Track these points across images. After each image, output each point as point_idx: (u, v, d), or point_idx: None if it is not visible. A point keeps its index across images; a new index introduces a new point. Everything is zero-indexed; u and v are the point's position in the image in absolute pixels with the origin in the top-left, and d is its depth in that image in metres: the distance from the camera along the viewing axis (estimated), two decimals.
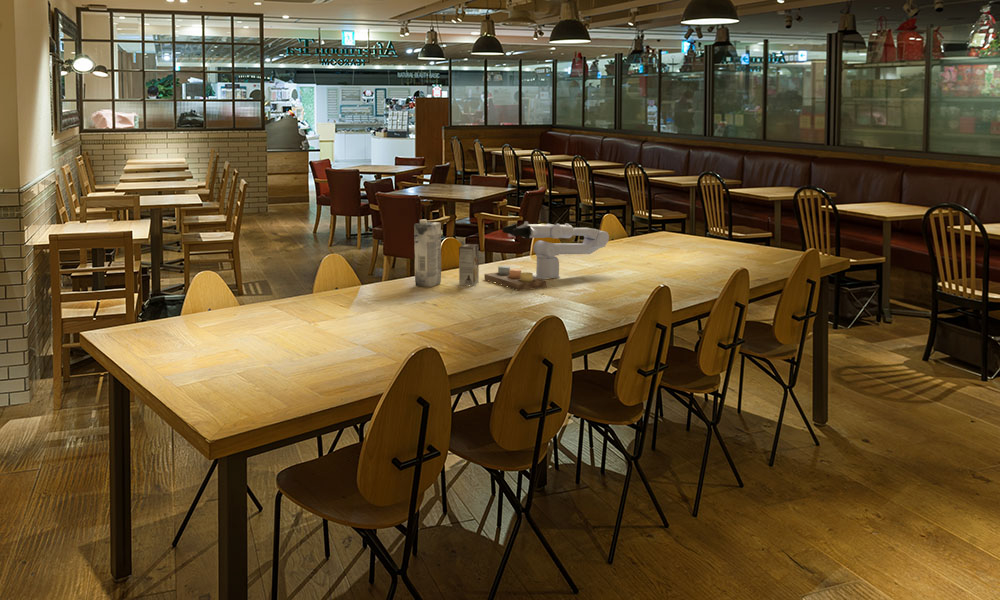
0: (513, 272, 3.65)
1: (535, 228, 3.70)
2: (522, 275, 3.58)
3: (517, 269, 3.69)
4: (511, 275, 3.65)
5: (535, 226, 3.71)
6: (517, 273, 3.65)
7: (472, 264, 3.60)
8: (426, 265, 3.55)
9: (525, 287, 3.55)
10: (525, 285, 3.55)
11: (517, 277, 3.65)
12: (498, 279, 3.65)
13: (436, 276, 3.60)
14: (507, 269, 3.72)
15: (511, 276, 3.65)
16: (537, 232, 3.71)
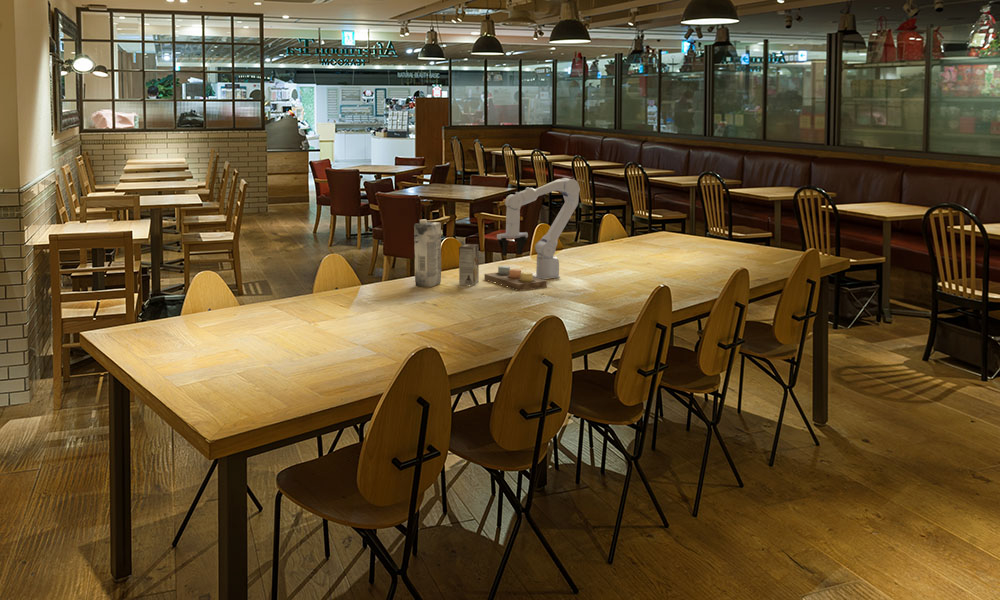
0: (513, 272, 3.65)
1: (506, 226, 3.71)
2: (522, 275, 3.58)
3: (517, 269, 3.69)
4: (511, 275, 3.65)
5: None
6: (517, 273, 3.65)
7: (472, 264, 3.60)
8: (426, 265, 3.55)
9: (525, 287, 3.55)
10: (525, 285, 3.55)
11: (517, 277, 3.65)
12: (498, 279, 3.65)
13: (436, 276, 3.60)
14: (507, 269, 3.72)
15: (511, 276, 3.65)
16: (507, 225, 3.70)
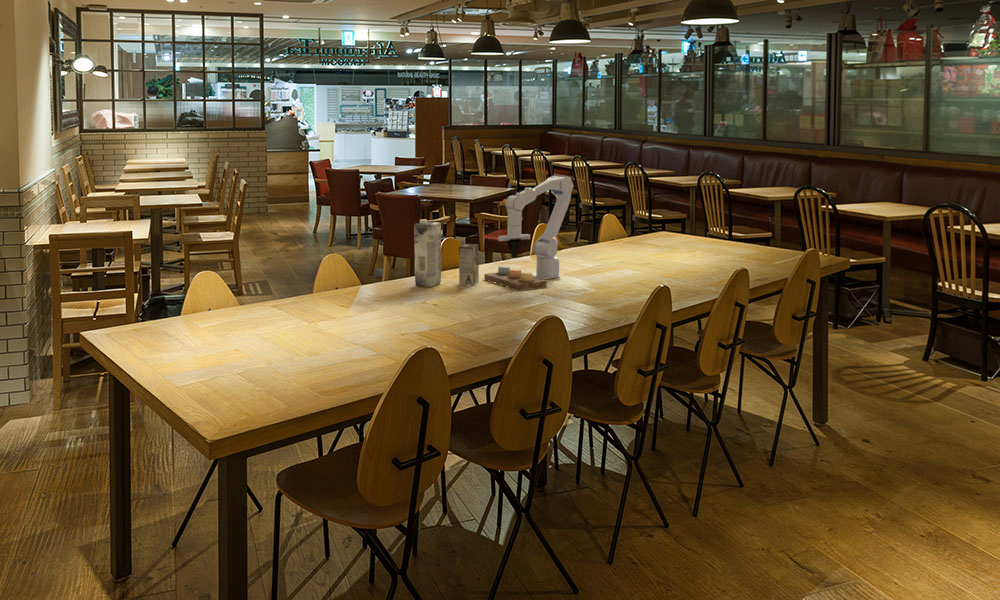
0: (513, 272, 3.65)
1: None
2: (522, 275, 3.58)
3: (517, 269, 3.69)
4: (511, 275, 3.65)
5: None
6: (517, 273, 3.65)
7: (472, 264, 3.60)
8: (426, 265, 3.55)
9: (525, 287, 3.55)
10: (525, 285, 3.55)
11: (517, 277, 3.65)
12: (498, 279, 3.65)
13: (436, 276, 3.60)
14: (507, 269, 3.72)
15: (511, 276, 3.65)
16: (509, 226, 3.64)
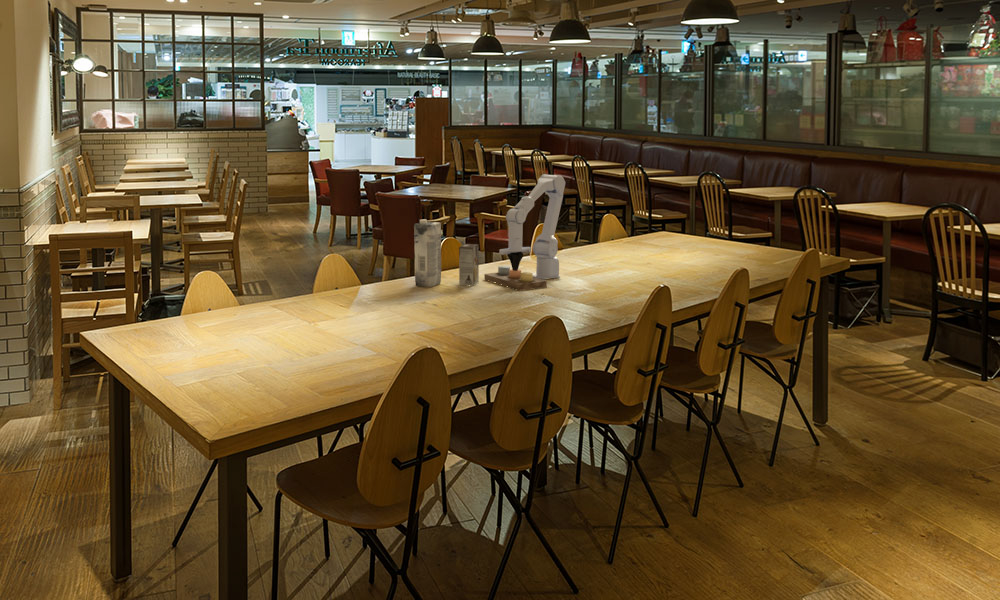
0: (513, 272, 3.65)
1: None
2: (522, 275, 3.58)
3: None
4: (511, 275, 3.65)
5: None
6: (517, 273, 3.65)
7: (472, 264, 3.60)
8: (426, 265, 3.55)
9: (525, 287, 3.55)
10: (525, 285, 3.55)
11: (517, 277, 3.65)
12: (498, 279, 3.65)
13: (436, 276, 3.60)
14: (507, 269, 3.72)
15: (511, 276, 3.65)
16: (510, 239, 3.62)
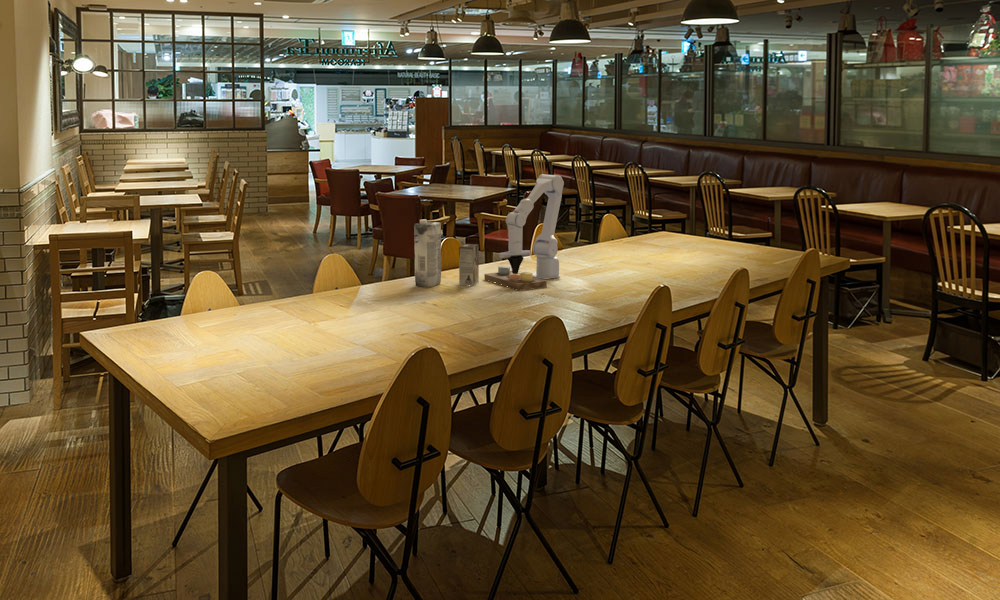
0: (513, 276, 3.65)
1: None
2: (522, 275, 3.58)
3: None
4: None
5: None
6: (517, 277, 3.65)
7: (472, 264, 3.60)
8: (426, 265, 3.55)
9: (525, 287, 3.55)
10: (525, 285, 3.55)
11: None
12: (498, 279, 3.65)
13: (436, 276, 3.60)
14: (507, 269, 3.72)
15: None
16: (510, 243, 3.63)
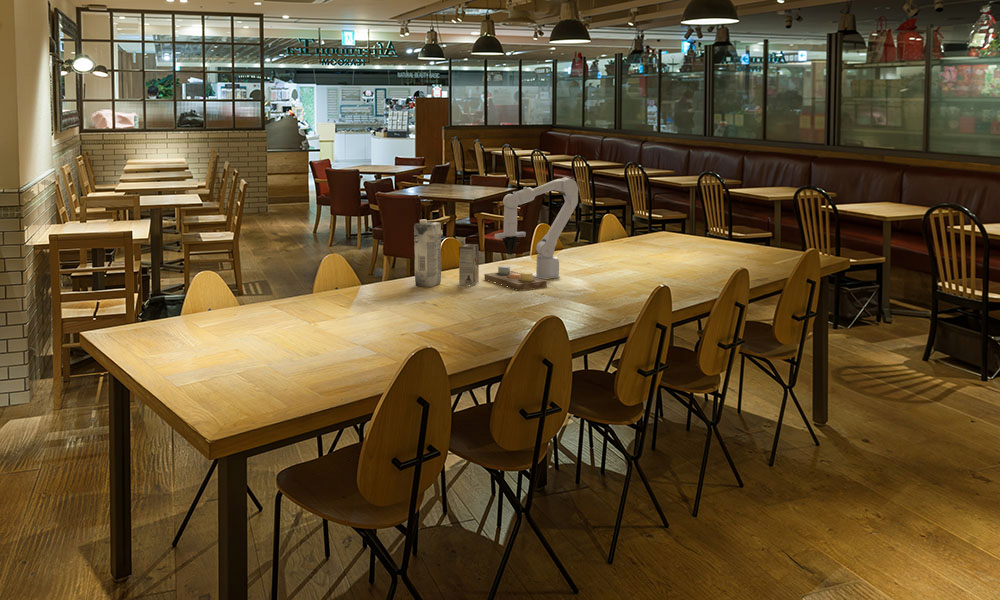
0: (513, 276, 3.65)
1: None
2: (522, 275, 3.58)
3: None
4: None
5: None
6: (517, 277, 3.65)
7: (472, 264, 3.60)
8: (426, 265, 3.55)
9: (525, 287, 3.55)
10: (525, 285, 3.55)
11: None
12: (498, 279, 3.65)
13: (436, 276, 3.60)
14: (507, 269, 3.72)
15: None
16: (505, 224, 3.71)
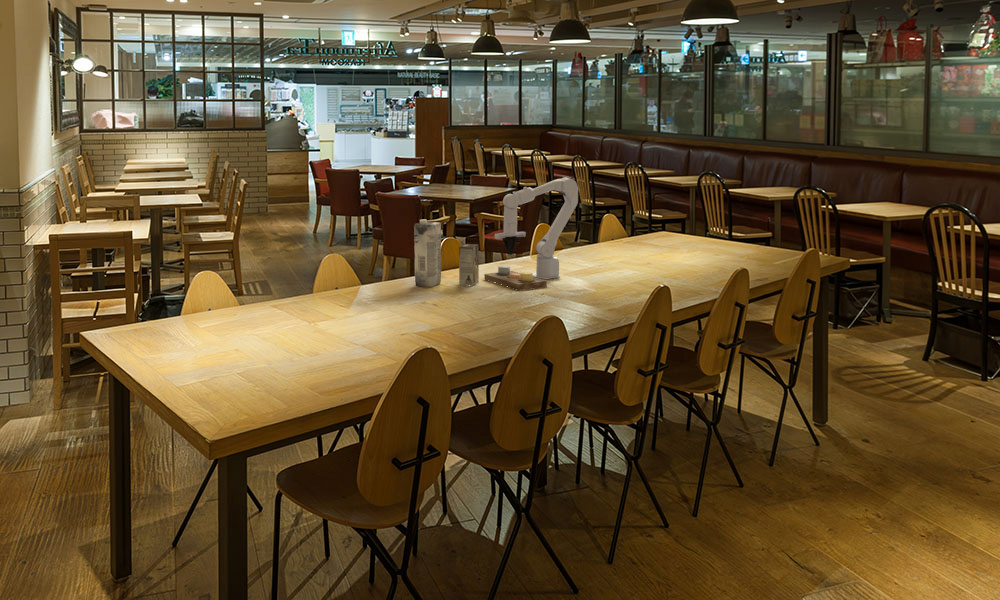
0: (513, 276, 3.65)
1: None
2: (522, 275, 3.58)
3: None
4: None
5: None
6: (517, 277, 3.65)
7: (472, 264, 3.60)
8: (426, 265, 3.55)
9: (525, 287, 3.55)
10: (525, 285, 3.55)
11: None
12: (498, 279, 3.65)
13: (436, 276, 3.60)
14: (507, 269, 3.72)
15: None
16: (505, 224, 3.71)
